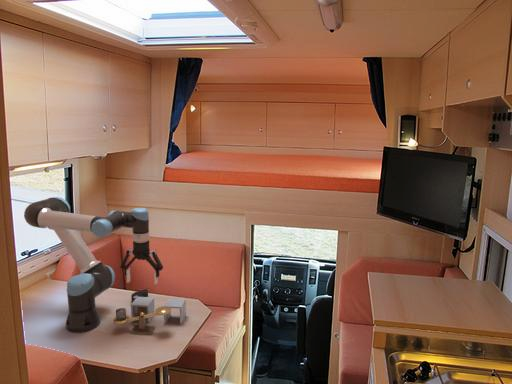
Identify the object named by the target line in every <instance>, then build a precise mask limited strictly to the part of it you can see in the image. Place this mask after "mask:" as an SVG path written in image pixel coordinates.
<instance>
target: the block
mask: <svg viewBox="0 0 512 384" xmlns="http://www.w3.org/2000/svg"><path fill="white" fill-rule="evenodd" d="M141 312H143V313H144V315H146V314H147V307H138V306H137V316H140V313H141ZM146 321H147V318H146Z"/></svg>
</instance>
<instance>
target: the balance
mask: <svg viewBox="0 0 512 384" xmlns="http://www.w3.org/2000/svg"><path fill="white" fill-rule="evenodd" d="M171 312H172V308H170V307H167V306H164V305H163V306H159V307H157V308H156V309H155V313H151V314H146V315H144V313H143V312H141V313H140V316H137V317H133V318H131V317H129V316H128V315H127V309H126V308H124V307H120V308H116V309H115V317H114V318H113V324H115V325H124V324H127V323H129V322H131V323H132V321H134V322H135V321H138V324H136V325H134V326H133V327H132V328H131V330H130V331H129V334H130V335H141V336H144V335H145V336H152V335H153V333H154V332H153V331H155V330H156V326H155V325H147V320H146V318H149V317H153V318H154V317H157V316H164V315H167V314H169V313H171ZM171 314H172V313H171Z"/></svg>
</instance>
